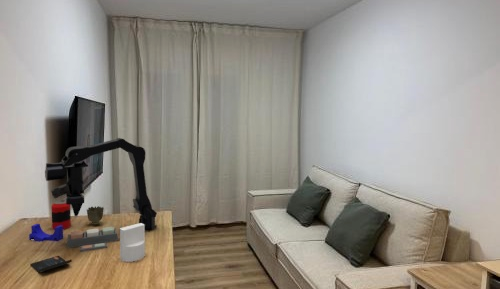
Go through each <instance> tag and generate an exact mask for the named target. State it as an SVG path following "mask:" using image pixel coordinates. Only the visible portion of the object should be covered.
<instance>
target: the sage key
mask: <svg viewBox="0 0 500 289" xmlns="http://www.w3.org/2000/svg"><path fill="white" fill-rule="evenodd" d="M101 228H102V229H101V230H102V234H103V235H107V234H114V229H115V228H114V226H107V227H101Z"/></svg>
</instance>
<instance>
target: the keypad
mask: <svg viewBox="0 0 500 289" xmlns="http://www.w3.org/2000/svg"><path fill="white" fill-rule="evenodd" d="M98 231H99V236H91V237H87V231H83V238H76V239H71V233H68V234H67V239H66V245H65V248H66V249H70V248H78V247H82V246H87V245H95V244H101V243H111V242H117V241H118V242H120V239H119V236H118V231H117V228H114V234H107V235H103V234H102V229H100V230H99V229H98Z"/></svg>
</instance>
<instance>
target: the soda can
mask: <svg viewBox="0 0 500 289" xmlns="http://www.w3.org/2000/svg"><path fill="white" fill-rule="evenodd" d="M50 208H51V229H53V230H54V231H55V227H57V226H59V225H63V230H67V229H69V228H70V227H71V226H72V222H71V220H72V218H71V217H72V216H71V205H66V200H57V201H54V202H53V204H52V205H51V207H50Z"/></svg>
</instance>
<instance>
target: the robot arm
mask: <svg viewBox="0 0 500 289" xmlns="http://www.w3.org/2000/svg"><path fill="white" fill-rule="evenodd" d="M117 149H121V150H123V151H124V152H127V155H128V157H129V160H130V162H131V165H132V168H133V175H134V176H133V177H134V185H135V191H136V196H135V198H133V199H132V202H133V205H132V206H133V208H134V209H135V211H136V212H138V214H139V219H138V224H139V223H142V224H144V225H145V231H147V232H151V231H152V230H154V229H156V228H157V227H158V226H157V225H156V217H157V214H158V212H157V211H156V210H154V209H153V206H152V203H151V201H150V198H149V196H148V192H147V187H146V186H147V184H146V178H145V176H146V175H145V168H144V164H145V161H146V150H145V148H144V147H142V146H139V145H134V144H132V143H131V142H129V141H127V140H125V139H124V138H121V137H117V138H116V139H115V138H114V139H111V140H107V141H103V142H100V143H95V144H91V145H77V146H70V147H68V148H67V149H66V151H65V155H64V156H63V158H62V159H61V161H59V162H54V163H53V162H46V163H45V169H44V177H45V181H46V182H48V181H60V180H64V178H65V177H67V178H66V183H65V184H61V185H59V186H56V187H54V188H51V190H50V192H51V195H52V197H53V199H57V198H59V197H62V196H63V195H66V196H67V197H66V199H65V201H66V205H70V206H71V209H72V211H73V215H74V217H78V216H79V213H80V210H81V208H82V207H83V204H84V203H85V195H83V194H85V188H84V168H87V167H89V164H87V163H86V162H85V160H87V159H88V158H90V157H92V156H94V155H99V154H102V153H106V152H109V151H110V152H111V151H113V150H114V151H115V150H117ZM156 226H157V227H156Z"/></svg>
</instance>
